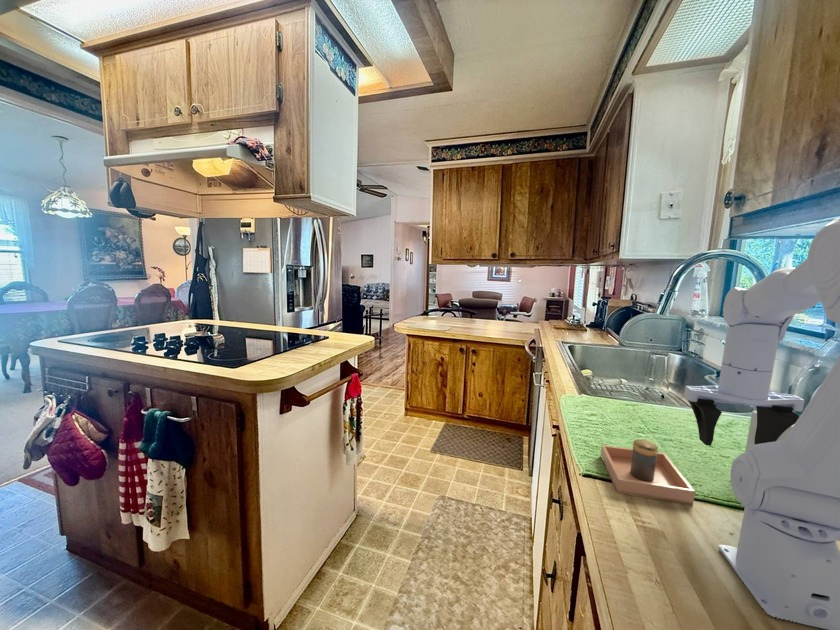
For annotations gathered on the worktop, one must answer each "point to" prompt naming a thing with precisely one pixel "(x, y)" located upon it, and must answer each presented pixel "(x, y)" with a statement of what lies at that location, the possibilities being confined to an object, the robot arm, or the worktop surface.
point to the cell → (643, 460)
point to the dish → (662, 487)
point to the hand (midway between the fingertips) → (732, 445)
